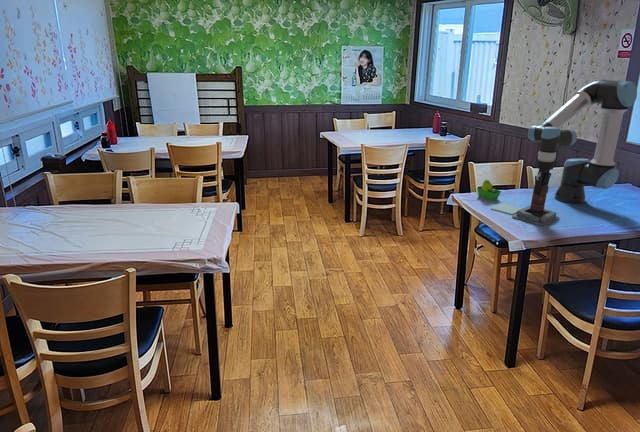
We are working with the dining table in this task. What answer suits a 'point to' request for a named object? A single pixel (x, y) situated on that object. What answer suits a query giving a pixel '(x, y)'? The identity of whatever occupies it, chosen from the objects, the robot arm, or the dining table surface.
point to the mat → (506, 209)
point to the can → (539, 200)
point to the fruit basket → (488, 191)
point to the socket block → (536, 216)
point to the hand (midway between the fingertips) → (537, 207)
